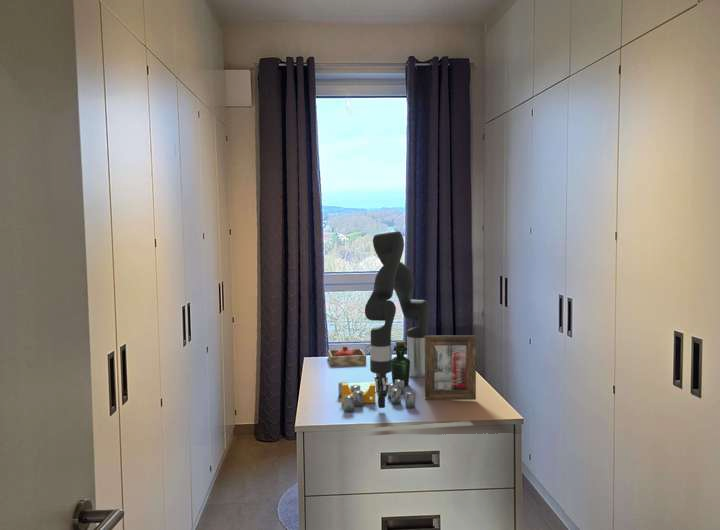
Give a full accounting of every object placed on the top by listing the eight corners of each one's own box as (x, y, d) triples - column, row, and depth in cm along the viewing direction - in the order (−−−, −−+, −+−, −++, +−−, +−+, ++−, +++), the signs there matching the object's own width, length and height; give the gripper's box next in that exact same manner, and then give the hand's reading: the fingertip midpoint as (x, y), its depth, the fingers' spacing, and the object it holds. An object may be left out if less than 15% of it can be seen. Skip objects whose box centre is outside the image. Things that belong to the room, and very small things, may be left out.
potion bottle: (393, 381, 216) (393, 339, 215) (412, 383, 213) (412, 340, 213) (388, 386, 209) (387, 342, 208) (407, 388, 206) (407, 343, 205)
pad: (381, 381, 216) (381, 381, 216) (387, 391, 202) (387, 390, 202) (343, 383, 214) (343, 383, 213) (347, 393, 200) (347, 393, 200)
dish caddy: (361, 358, 259) (361, 348, 259) (366, 365, 244) (366, 355, 243) (328, 360, 256) (328, 350, 256) (331, 367, 241) (331, 357, 241)
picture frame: (425, 399, 191) (424, 336, 190) (425, 398, 193) (424, 335, 192) (475, 399, 190) (475, 336, 189) (475, 398, 192) (474, 335, 191)
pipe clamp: (341, 403, 187) (341, 386, 186) (343, 399, 191) (342, 382, 190) (374, 404, 186) (374, 387, 185) (375, 400, 190) (375, 383, 190)
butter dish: (330, 366, 245) (330, 348, 245) (336, 360, 256) (336, 343, 256) (354, 367, 243) (354, 349, 243) (359, 361, 254) (359, 344, 254)
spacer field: (403, 391, 202) (402, 378, 202) (416, 408, 181) (416, 394, 181) (338, 395, 198) (337, 382, 198) (344, 412, 178) (344, 398, 177)
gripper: (395, 361, 172) (396, 412, 172) (387, 353, 185) (388, 400, 185) (373, 362, 170) (374, 414, 171) (367, 354, 183) (367, 402, 184)
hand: (381, 407), depth 178 cm, fingers closed
